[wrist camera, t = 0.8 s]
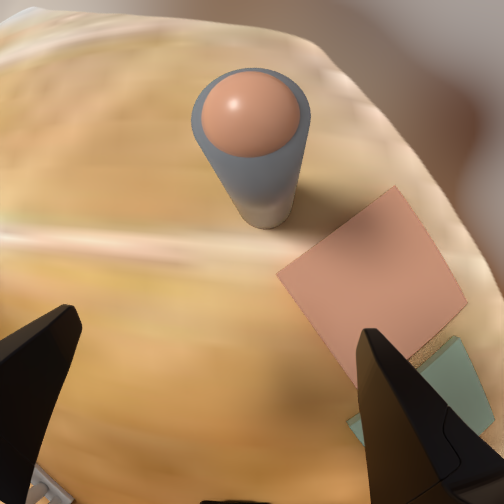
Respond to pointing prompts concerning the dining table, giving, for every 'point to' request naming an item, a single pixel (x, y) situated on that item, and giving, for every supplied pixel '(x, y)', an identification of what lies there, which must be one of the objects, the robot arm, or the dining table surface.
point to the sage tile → (451, 387)
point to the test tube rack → (46, 489)
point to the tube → (254, 140)
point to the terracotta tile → (375, 282)
